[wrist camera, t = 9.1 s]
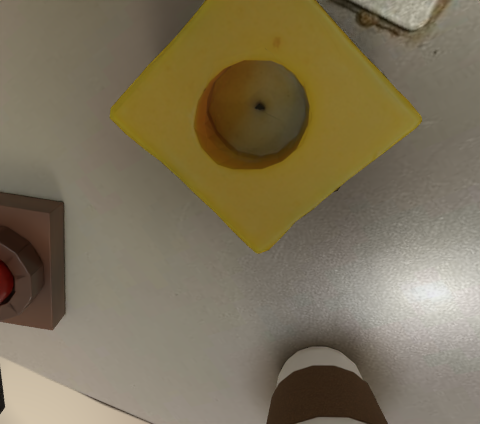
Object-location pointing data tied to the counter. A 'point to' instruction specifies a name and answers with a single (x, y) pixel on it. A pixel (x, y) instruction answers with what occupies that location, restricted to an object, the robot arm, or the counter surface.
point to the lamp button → (5, 281)
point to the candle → (263, 112)
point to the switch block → (33, 260)
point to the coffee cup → (322, 391)
